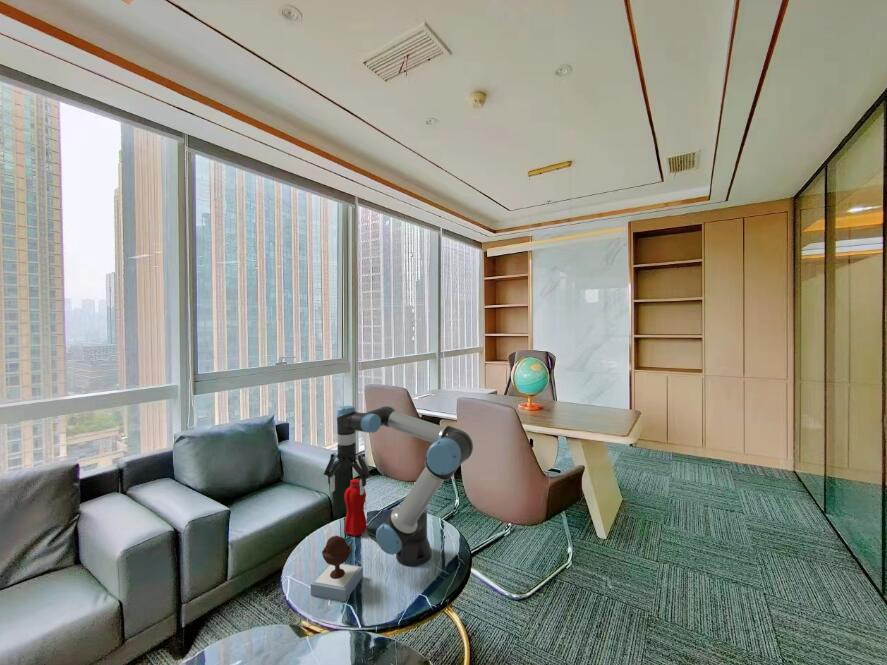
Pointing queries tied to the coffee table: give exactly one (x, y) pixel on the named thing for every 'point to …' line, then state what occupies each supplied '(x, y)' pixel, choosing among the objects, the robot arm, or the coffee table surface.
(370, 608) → the coffee table surface
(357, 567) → the base plinth
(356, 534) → the water bottle
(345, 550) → the ice cream bowl
